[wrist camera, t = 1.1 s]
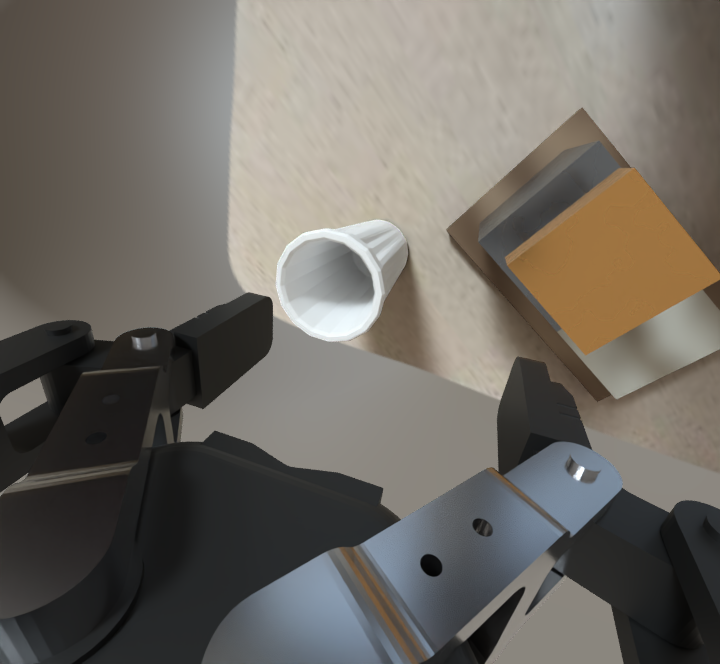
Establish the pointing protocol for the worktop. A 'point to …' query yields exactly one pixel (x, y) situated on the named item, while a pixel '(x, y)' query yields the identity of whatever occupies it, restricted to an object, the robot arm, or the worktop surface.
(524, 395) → the robot arm
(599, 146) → the open box
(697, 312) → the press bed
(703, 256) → the plunger
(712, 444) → the worktop surface
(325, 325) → the cup
